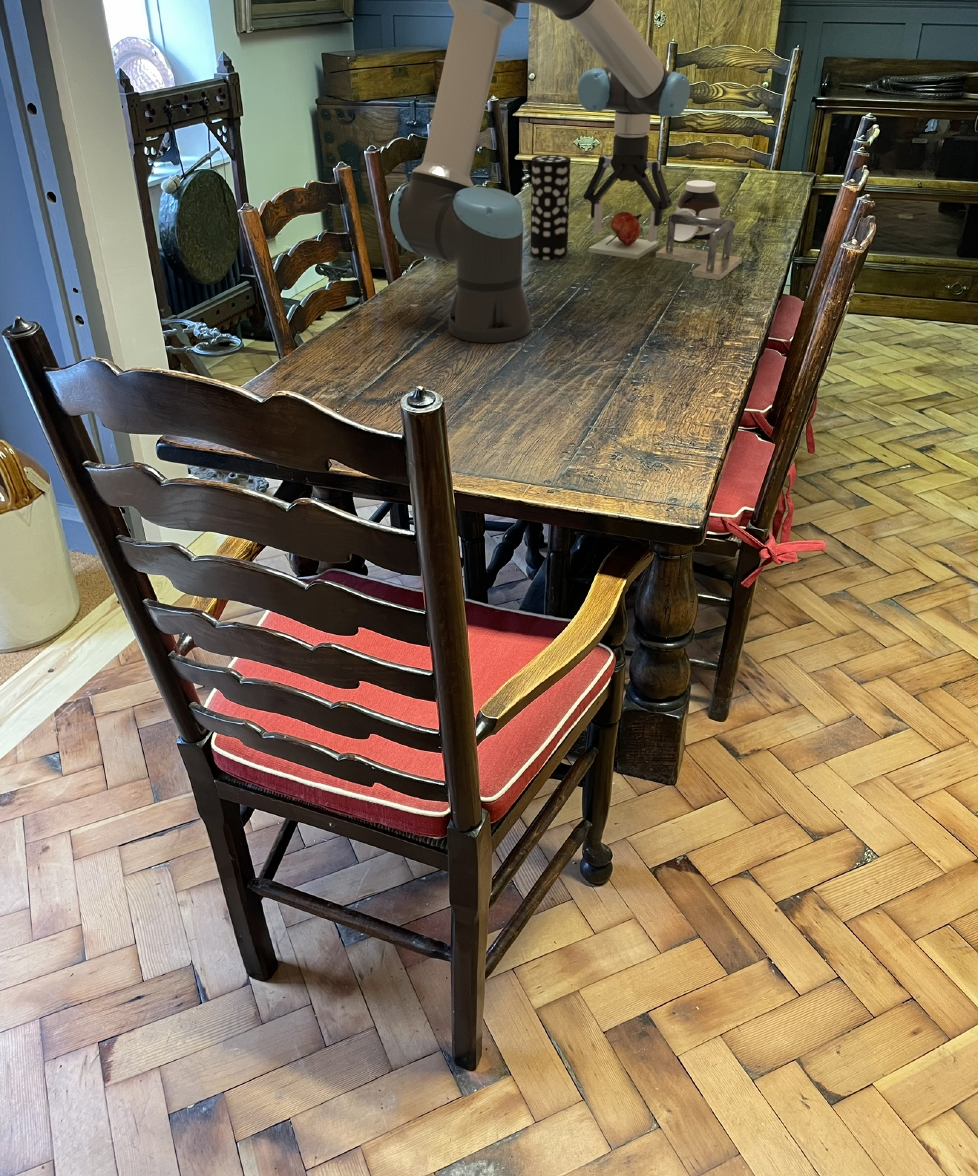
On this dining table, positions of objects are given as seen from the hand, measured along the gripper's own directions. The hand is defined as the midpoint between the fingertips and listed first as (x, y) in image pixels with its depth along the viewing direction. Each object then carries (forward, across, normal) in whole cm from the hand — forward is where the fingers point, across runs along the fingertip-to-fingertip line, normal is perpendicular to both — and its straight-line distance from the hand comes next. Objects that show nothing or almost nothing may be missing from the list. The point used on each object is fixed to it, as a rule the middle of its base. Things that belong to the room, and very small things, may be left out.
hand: (624, 237), depth 211 cm
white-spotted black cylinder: (+3, +13, +12) cm, 18 cm away
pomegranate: (+2, 0, 0) cm, 2 cm away
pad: (+3, 0, 0) cm, 3 cm away
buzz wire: (+3, -18, +5) cm, 19 cm away
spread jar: (+3, -10, -17) cm, 20 cm away
